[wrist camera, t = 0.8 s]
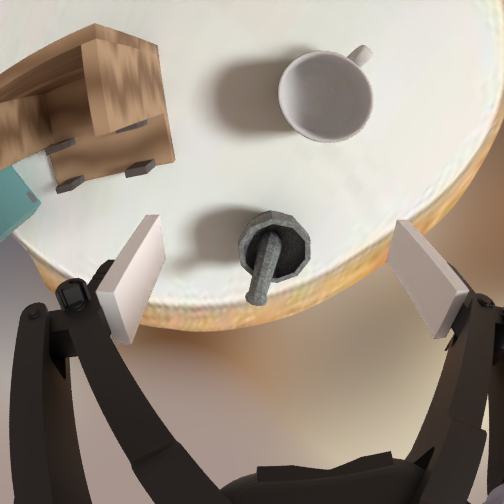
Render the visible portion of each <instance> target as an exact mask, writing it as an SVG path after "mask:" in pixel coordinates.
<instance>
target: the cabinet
mask: <svg viewBox="0 0 504 504" xmlns="http://www.w3.org/2000/svg"><path fill="white" fill-rule="evenodd" d="M43 149H45V151H46V156H47V155H50V157H51V161H52V165H53V169H54V172H55V176H56V179H57V183H58V186H57V187H56V192H57V194H59V193H63V192H67V191H71V190H73V189H75V188H76V187H77V186H79V185H80V184H82V183H83V182H84V181H87V180H91V179H95V178H99V177H104V176H108V175H113V174H117V173H122V172H125V176H126V178H128V177H133V176H138V175H144V174H147V173H148V172H149V171H151V170H152V169H153V168H154V167H155V166H157V165H162V164H168V163H173V162H174V161H175V155H174V150H173V144H172V139H171V133H170V127H169V122H168V116H167V109H166V103H165V97H164V90H163V84H162V77H161V70H160V62H159V55H158V47H157V45H155V44H153V43H150V42H147V41H145V40H142V39H140V38H137V37H134V36H131V35H129V34H126V33H123V32H120V31H117V30H114V29H111V28H108V27H105V26H102V25H98V24H92V25H90V26H87V27H85V28H83V29H81V30H78V31H76V32H74V33H72V34H70V35H68V36H65V37H63V38H61V39H59V40H57V41H55V42H53V43H51V44H50V45H48V46H46V47H44V48H42V49H40V50H38V51H37V52H35V53H33V54H31V55H30V56H28V57H26V58H25V59H23V60H21V61H20V62H18V63H17V64H15V65H13V66H12V67H10V68H9V69H7V70H6V71H4V72H3V73H1V74H0V171H1V170H3V169H5V168H6V167H8V166H10V165H12V164H14V163H16V162H18V161H20V160H22V159H24V158H26V157H28V156H30V155H33V154H35V153H37V152H39V151H41V150H43Z"/></svg>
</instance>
